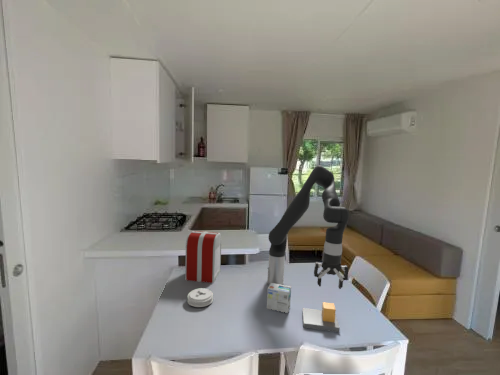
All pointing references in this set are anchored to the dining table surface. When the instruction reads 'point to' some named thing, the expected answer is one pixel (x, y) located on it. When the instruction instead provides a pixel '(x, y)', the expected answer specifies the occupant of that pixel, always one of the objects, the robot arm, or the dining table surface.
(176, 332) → the dining table surface
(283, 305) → the light bulb box
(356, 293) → the dining table surface
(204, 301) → the lid
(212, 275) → the red striped box
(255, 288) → the dining table surface
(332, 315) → the orange block
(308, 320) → the plate
